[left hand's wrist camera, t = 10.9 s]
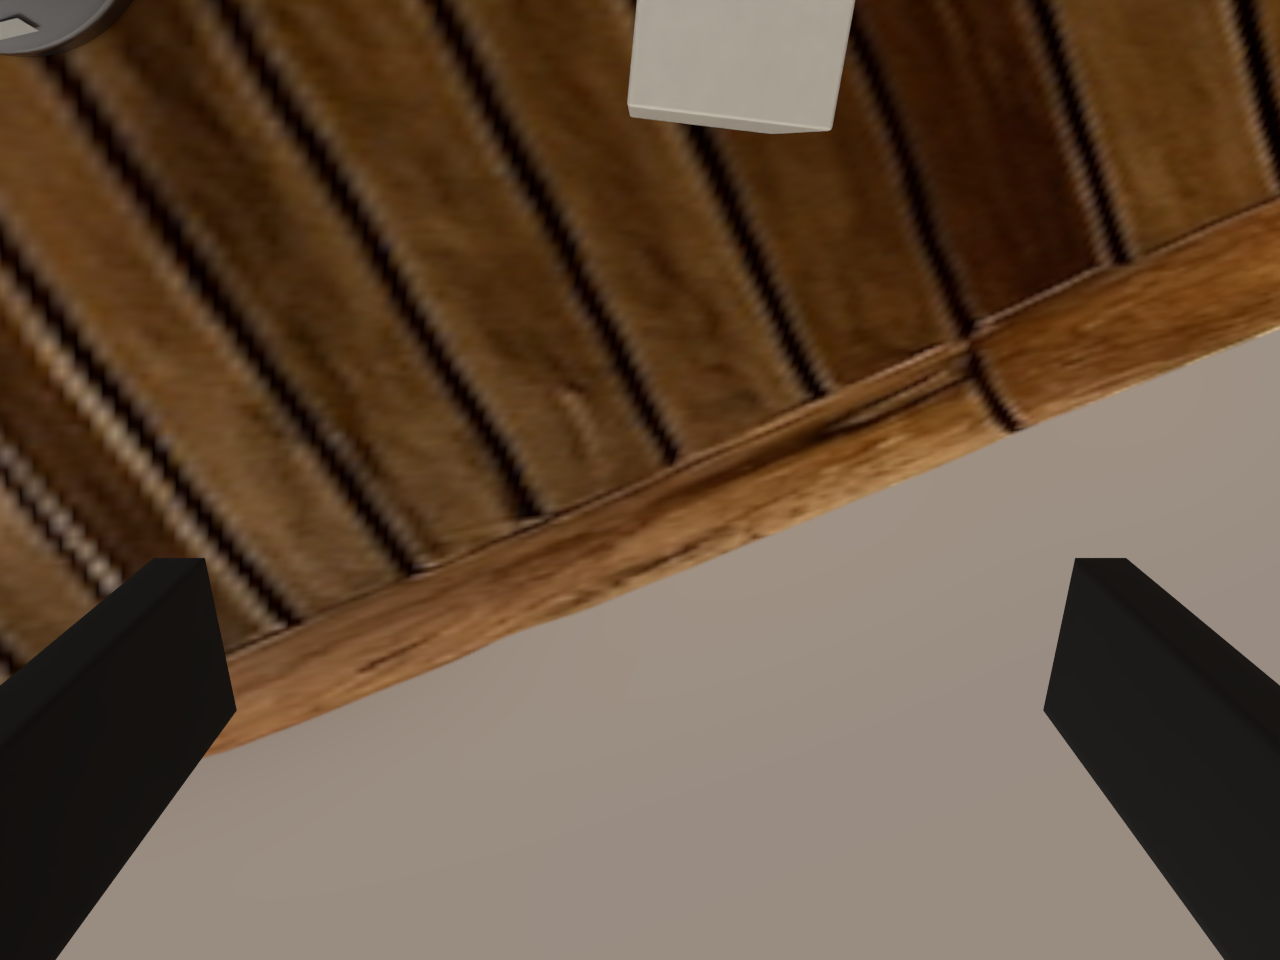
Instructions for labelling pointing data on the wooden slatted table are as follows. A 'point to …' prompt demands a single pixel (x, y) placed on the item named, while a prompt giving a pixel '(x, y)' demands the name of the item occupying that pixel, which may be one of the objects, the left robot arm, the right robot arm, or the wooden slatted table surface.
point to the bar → (739, 63)
